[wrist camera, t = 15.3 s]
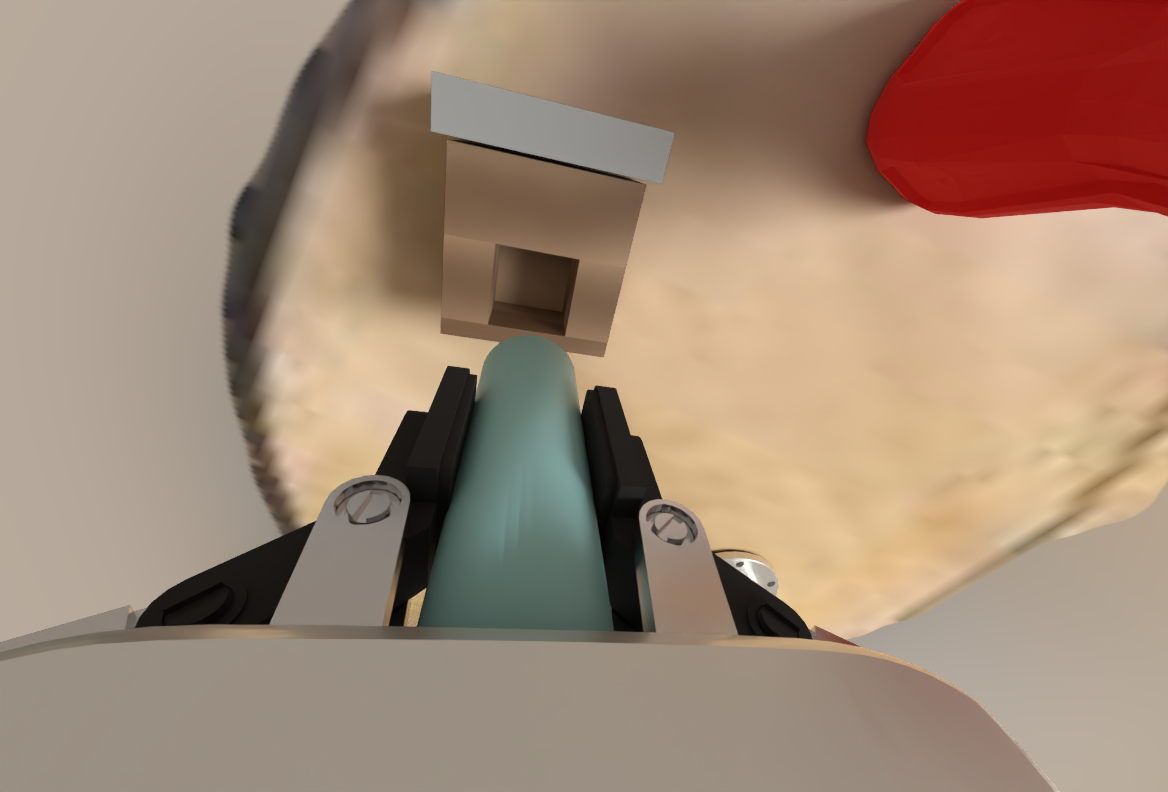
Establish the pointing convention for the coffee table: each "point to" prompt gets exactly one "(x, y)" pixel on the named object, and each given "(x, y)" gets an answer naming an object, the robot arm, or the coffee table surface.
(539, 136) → the wall
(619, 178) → the block
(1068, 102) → the water bottle
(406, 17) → the coffee table surface
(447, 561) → the dowel
